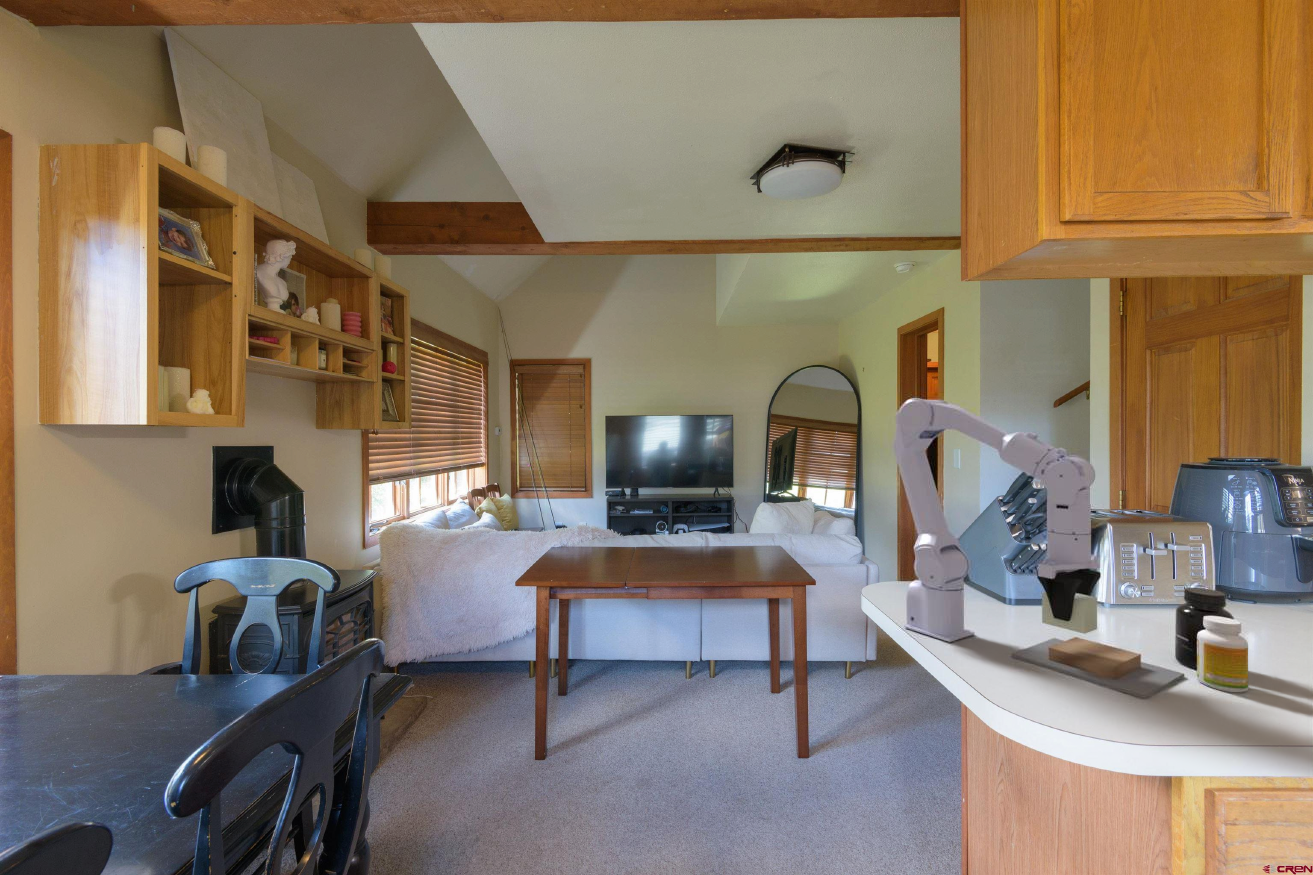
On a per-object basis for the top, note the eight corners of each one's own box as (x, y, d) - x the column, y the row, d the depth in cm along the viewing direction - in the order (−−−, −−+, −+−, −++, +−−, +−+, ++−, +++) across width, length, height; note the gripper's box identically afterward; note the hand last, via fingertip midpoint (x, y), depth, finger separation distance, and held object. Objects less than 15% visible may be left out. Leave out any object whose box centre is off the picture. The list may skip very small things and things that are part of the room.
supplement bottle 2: (1258, 695, 82) (1259, 626, 82) (1214, 691, 83) (1214, 624, 83) (1229, 679, 87) (1229, 614, 87) (1188, 676, 88) (1187, 612, 88)
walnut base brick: (1048, 659, 94) (1048, 647, 93) (1075, 648, 98) (1075, 636, 98) (1114, 679, 86) (1114, 666, 86) (1140, 666, 90) (1140, 654, 90)
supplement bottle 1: (1165, 661, 94) (1165, 588, 94) (1188, 654, 96) (1189, 583, 96) (1220, 677, 87) (1220, 599, 87) (1243, 670, 90) (1243, 593, 90)
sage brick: (1042, 622, 93) (1042, 592, 93) (1054, 618, 95) (1054, 588, 95) (1084, 633, 88) (1084, 601, 88) (1097, 629, 90) (1096, 597, 90)
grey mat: (1011, 656, 96) (1011, 653, 96) (1054, 640, 103) (1054, 637, 103) (1144, 699, 81) (1144, 695, 81) (1184, 676, 88) (1184, 673, 88)
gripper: (1074, 540, 85) (1074, 632, 85) (1119, 531, 92) (1120, 615, 92) (1023, 533, 91) (1024, 619, 91) (1069, 525, 98) (1070, 604, 98)
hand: (1069, 616), depth 92 cm, fingers closed on sage brick, 4 cm apart
